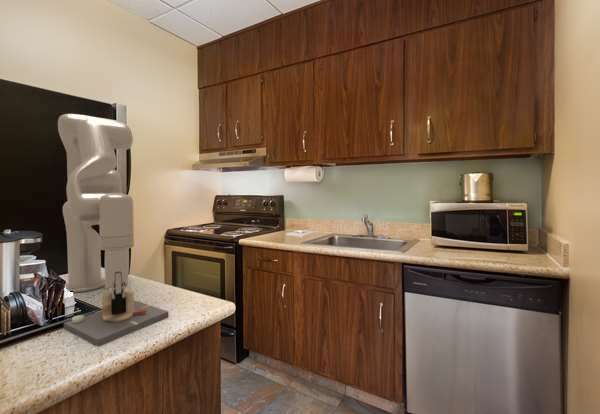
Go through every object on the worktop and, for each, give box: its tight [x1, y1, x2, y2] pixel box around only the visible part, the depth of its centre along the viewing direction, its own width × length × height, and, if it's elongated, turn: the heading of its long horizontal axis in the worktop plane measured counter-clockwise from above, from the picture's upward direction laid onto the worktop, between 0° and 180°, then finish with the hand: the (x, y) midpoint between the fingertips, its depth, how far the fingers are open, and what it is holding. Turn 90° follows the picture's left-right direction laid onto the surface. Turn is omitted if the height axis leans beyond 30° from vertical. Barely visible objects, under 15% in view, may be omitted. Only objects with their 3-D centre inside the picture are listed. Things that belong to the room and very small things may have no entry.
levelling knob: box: [101, 290, 146, 323], centre depth 78 cm, size 10×7×6 cm
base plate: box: [63, 299, 169, 347], centre depth 78 cm, size 16×18×3 cm
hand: (118, 310), depth 78 cm, fingers closed on levelling knob, 2 cm apart
